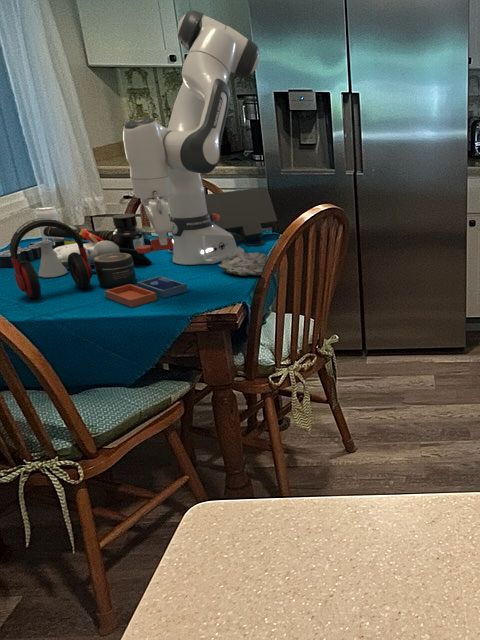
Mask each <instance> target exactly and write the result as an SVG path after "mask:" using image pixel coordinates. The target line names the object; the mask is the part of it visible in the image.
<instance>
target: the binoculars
mask: <svg viewBox="0 0 480 640" xmlns="http://www.w3.org/2000/svg"><path fill="white" fill-rule="evenodd" d="M83 245H84V247H85V248H86V249H92V250H93V249H94V247H95V245H96V243H95V242H92V241H88V243H85V244H83ZM53 250H54V253H55V254H56V256H57V257H58V259H59V260H66V259H68V256H69V254H70V253H73V252H76V253H78V254H80V252H79V248H78V245H77V243H75V244H70V245H64V246H60V247H57V248H55V249H53Z"/></svg>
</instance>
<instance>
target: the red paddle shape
mask: <svg viewBox="0 0 480 640" xmlns="http://www.w3.org/2000/svg"><path fill="white" fill-rule="evenodd" d="M172 239H173V237H171V236H167V245H160V243H159V238H150V239H149V241H150V244H145V245H142V246H138V247H137V252H138V253H143V254H149V253H152V252H159V251H166V250H167V251H168V250H169V249H174V248H173V242H172Z"/></svg>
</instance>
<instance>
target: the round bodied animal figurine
mask: <svg viewBox="0 0 480 640" xmlns="http://www.w3.org/2000/svg"><path fill="white" fill-rule="evenodd" d="M84 248H85V247H84ZM85 251H86V254H87V260H88V262H89V264H91V263H94V258H96V257H98V256H101V255H105V254H110V253H120V250H119V246H117V245H116V244H115V243H113V242H111V241H107V240H105V241H100V242H98V243H97V244H96V245H95V247H94V249H93V250H92V249H86V248H85ZM91 265H92V264H91Z"/></svg>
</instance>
